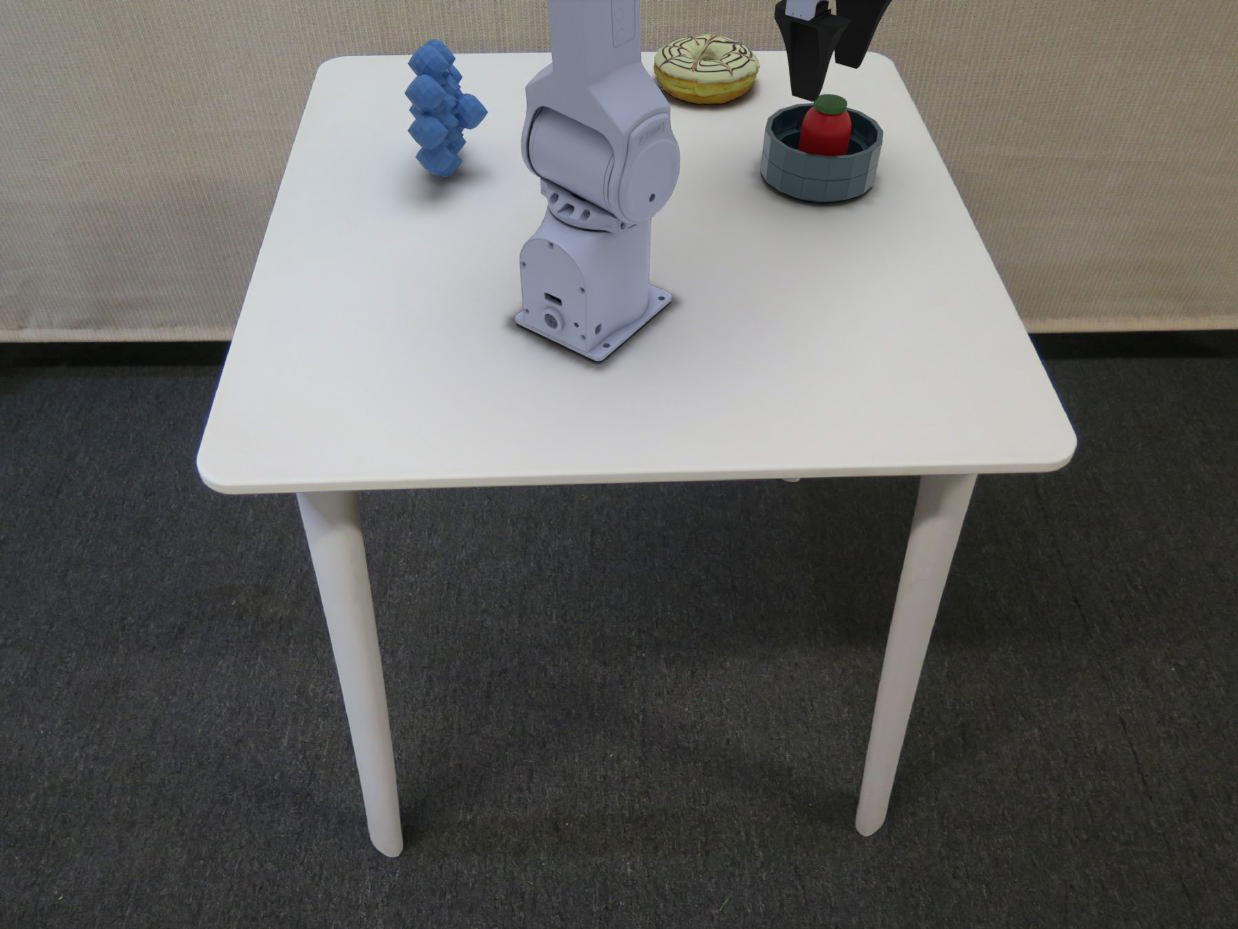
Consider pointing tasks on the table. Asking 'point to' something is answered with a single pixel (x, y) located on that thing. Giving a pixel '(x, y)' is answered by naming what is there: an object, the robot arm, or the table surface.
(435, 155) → the grapes
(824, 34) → the robot arm
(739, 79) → the decorated donut
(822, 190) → the dessert bowl
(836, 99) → the red jar green lid
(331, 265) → the table surface
